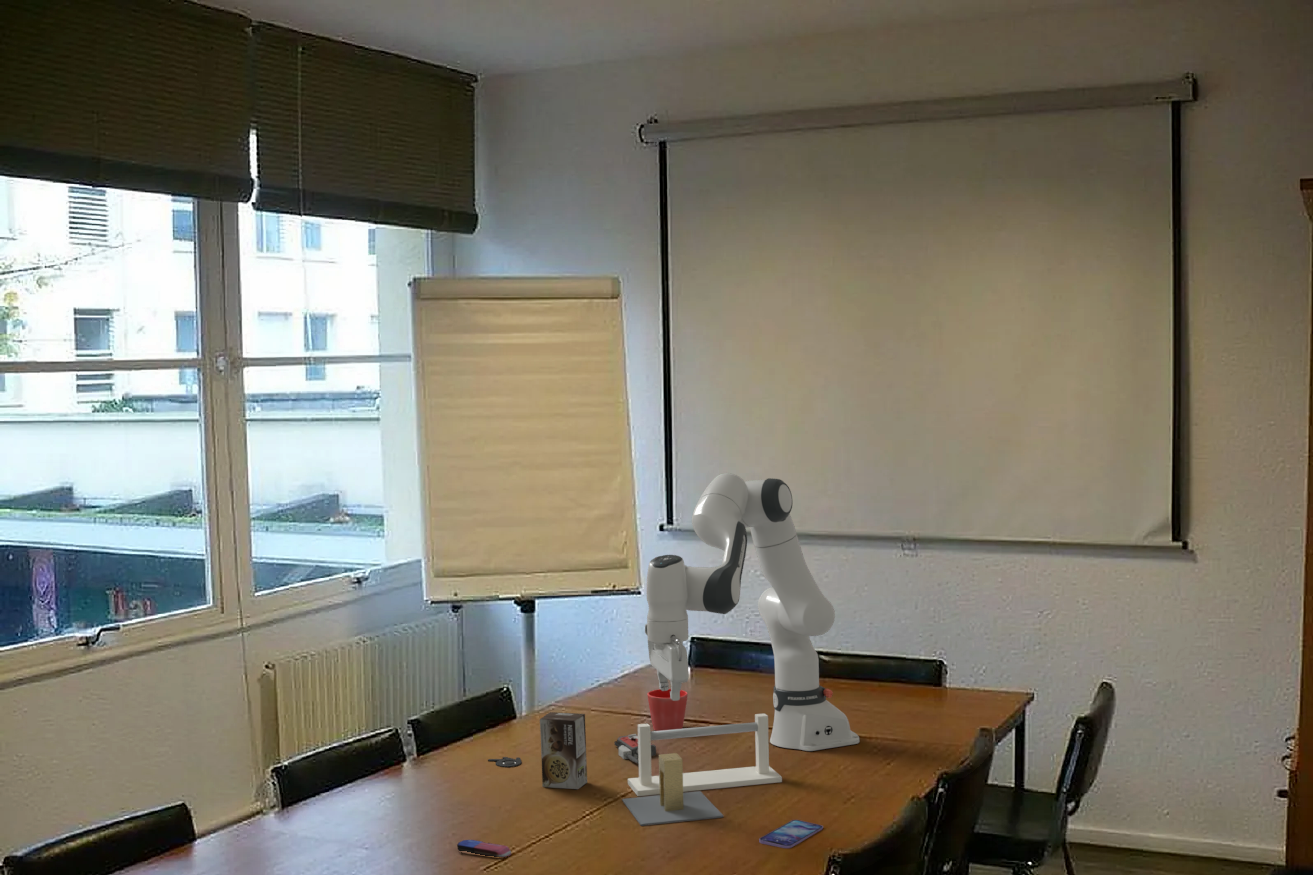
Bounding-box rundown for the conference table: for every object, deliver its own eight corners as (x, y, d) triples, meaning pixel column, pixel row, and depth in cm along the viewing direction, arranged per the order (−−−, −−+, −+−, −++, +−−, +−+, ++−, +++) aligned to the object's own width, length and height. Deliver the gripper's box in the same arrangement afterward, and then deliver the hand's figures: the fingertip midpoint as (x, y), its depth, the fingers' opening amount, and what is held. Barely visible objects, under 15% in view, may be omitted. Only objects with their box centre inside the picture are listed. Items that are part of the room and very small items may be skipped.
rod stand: (768, 770, 337) (766, 709, 336) (781, 782, 327) (780, 719, 326) (627, 783, 328) (626, 721, 328) (637, 796, 319) (636, 731, 318)
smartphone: (825, 826, 294) (788, 847, 282) (825, 830, 295) (788, 851, 282) (794, 819, 299) (757, 839, 286) (793, 823, 299) (756, 843, 287)
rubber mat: (700, 792, 320) (700, 791, 320) (723, 817, 303) (723, 815, 303) (622, 800, 316) (622, 798, 316) (640, 825, 298) (640, 824, 298)
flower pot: (689, 724, 381) (689, 688, 380) (686, 734, 370) (685, 697, 370) (650, 724, 382) (649, 688, 381) (646, 734, 371) (645, 697, 371)
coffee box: (588, 782, 330) (586, 713, 330) (577, 790, 324) (575, 720, 323) (552, 779, 333) (550, 711, 333) (541, 787, 327) (539, 717, 326)
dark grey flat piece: (482, 763, 349) (482, 760, 349) (506, 757, 355) (506, 754, 355) (507, 770, 343) (507, 767, 343) (531, 763, 348) (531, 760, 348)
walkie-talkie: (606, 749, 360) (635, 769, 341) (606, 731, 360) (634, 751, 341) (639, 744, 363) (669, 764, 344) (638, 727, 363) (668, 746, 344)
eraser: (514, 854, 284) (514, 846, 284) (503, 861, 280) (503, 852, 280) (465, 846, 289) (465, 837, 288) (454, 852, 285) (454, 844, 285)
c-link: (677, 802, 312) (676, 753, 312) (683, 809, 307) (682, 759, 307) (659, 804, 311) (658, 754, 311) (665, 811, 306) (664, 760, 306)
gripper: (695, 639, 298) (696, 704, 299) (670, 622, 318) (671, 683, 318) (665, 641, 296) (667, 707, 297) (642, 624, 316) (644, 686, 317)
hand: (669, 695), depth 308 cm, fingers open, 8 cm apart
